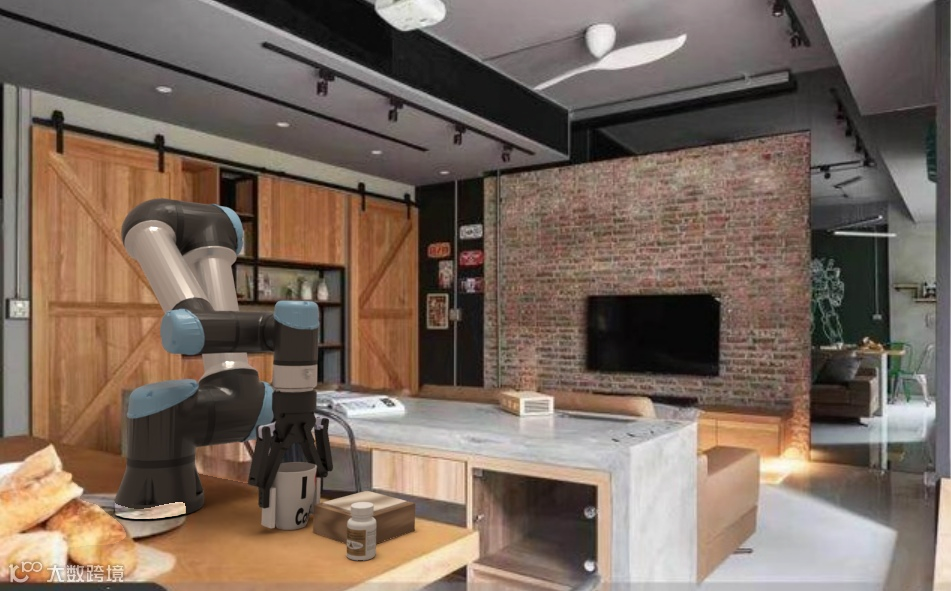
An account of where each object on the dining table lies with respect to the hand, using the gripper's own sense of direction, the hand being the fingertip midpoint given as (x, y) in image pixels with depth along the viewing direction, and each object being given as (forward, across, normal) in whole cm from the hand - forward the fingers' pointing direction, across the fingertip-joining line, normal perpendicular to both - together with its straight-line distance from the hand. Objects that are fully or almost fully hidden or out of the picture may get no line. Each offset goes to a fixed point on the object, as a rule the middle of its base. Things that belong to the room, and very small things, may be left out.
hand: (291, 519), depth 114 cm
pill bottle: (+1, -2, -20) cm, 20 cm away
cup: (+1, 0, 0) cm, 1 cm away
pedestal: (+1, +6, -12) cm, 13 cm away
